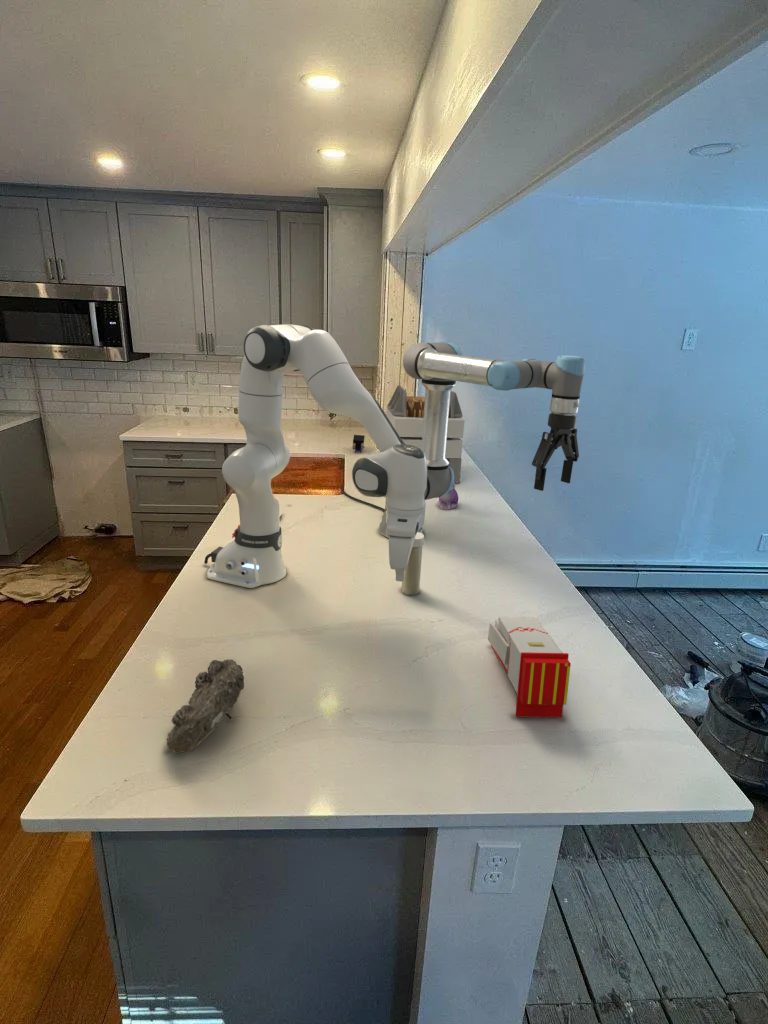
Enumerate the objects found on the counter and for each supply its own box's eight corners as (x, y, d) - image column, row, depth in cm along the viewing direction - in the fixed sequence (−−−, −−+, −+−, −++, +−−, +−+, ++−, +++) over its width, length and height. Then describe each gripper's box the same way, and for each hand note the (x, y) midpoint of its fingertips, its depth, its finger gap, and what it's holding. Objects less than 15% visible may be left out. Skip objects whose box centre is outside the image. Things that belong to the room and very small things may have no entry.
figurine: (444, 511, 224) (448, 474, 219) (431, 503, 232) (433, 468, 227) (464, 508, 228) (468, 472, 223) (450, 500, 237) (453, 466, 231)
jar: (417, 586, 163) (420, 533, 157) (420, 594, 158) (424, 540, 152) (400, 587, 162) (403, 533, 156) (403, 595, 157) (406, 540, 152)
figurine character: (364, 456, 306) (364, 446, 320) (364, 442, 303) (365, 433, 317) (351, 455, 306) (352, 446, 320) (352, 442, 303) (353, 433, 316)
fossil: (192, 660, 117) (244, 628, 112) (224, 691, 120) (276, 661, 115) (142, 746, 98) (202, 712, 93) (182, 779, 101) (242, 748, 96)
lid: (421, 539, 158) (421, 531, 157) (425, 547, 153) (426, 539, 152) (401, 539, 157) (402, 531, 156) (405, 547, 152) (405, 539, 151)
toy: (534, 602, 136) (579, 659, 107) (529, 653, 139) (572, 723, 110) (484, 601, 136) (516, 658, 107) (480, 652, 139) (510, 722, 109)
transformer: (382, 463, 289) (386, 382, 275) (445, 464, 293) (451, 384, 279) (390, 482, 257) (394, 392, 243) (460, 483, 261) (468, 394, 247)
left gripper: (397, 501, 139) (395, 552, 144) (384, 530, 120) (382, 589, 125) (423, 503, 139) (419, 554, 143) (414, 533, 120) (411, 592, 124)
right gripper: (548, 419, 148) (537, 496, 155) (598, 411, 163) (586, 482, 171) (525, 414, 153) (515, 489, 160) (575, 407, 169) (564, 476, 176)
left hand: (402, 571), depth 134 cm, fingers open, 8 cm apart
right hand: (552, 485), depth 166 cm, fingers open, 13 cm apart
